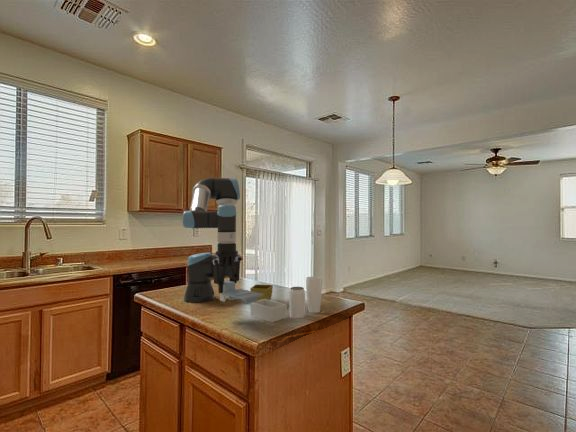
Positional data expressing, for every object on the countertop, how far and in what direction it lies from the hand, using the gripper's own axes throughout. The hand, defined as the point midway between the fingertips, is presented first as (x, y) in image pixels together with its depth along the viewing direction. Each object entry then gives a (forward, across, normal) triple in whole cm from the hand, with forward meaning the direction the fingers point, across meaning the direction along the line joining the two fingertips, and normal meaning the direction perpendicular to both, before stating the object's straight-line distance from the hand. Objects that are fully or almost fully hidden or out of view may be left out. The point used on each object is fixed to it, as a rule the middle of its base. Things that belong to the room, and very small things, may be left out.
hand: (226, 299), depth 128 cm
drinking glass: (+8, +31, -21) cm, 38 cm away
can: (+8, +21, -20) cm, 30 cm away
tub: (+8, +12, -12) cm, 19 cm away
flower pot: (+8, +23, +4) cm, 25 cm away
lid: (-1, 0, -8) cm, 8 cm away
